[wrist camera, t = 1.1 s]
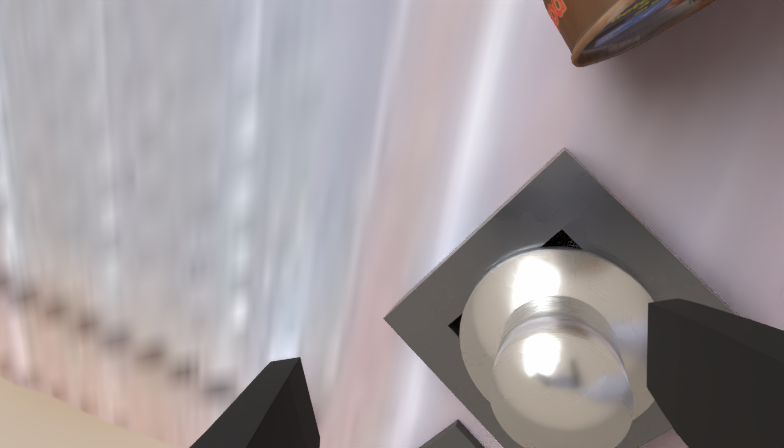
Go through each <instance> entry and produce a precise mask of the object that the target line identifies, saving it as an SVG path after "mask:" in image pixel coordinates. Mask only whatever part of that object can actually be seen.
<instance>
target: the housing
mask: <svg viewBox="0 0 784 448" xmlns="http://www.w3.org/2000/svg"><path fill="white" fill-rule="evenodd" d="M561 229H562V230H563V231H564V232H565V233H566V234H567V235H568V236H569V237H570V238H572V239H573V240H574V241H575V242H576V243H577V244H578V245H579V246H580V247H581V248H582V249H583V250H587V251H591V252H593V253H596V254H599V255H602V256H604V257H606V258H608V259H610V260H612V261H614V262H616V263H617V264H619V265H620V266H622V267H623V268H625V269H626V270H627V271H628V272H630V273H631V274H632V275H633V276H634V277H635V278H637V279H638V281H639V282H640V283H641V284H642V285H643V286H644V287H645V288H646V290H647V291H648V293H649V294H650V296H651V297H652V299H653V300H654V302H657V301H663V300H669V299H676V298H679V299H684V300H688V301H692V302H696V303H699V304H703V305H706V306H709V307H713V308H716V309H719V310H722V311H725V312H728V313H731V314H734V315H737V314H736V313H735V312H734V311H733V310H732V309H731V308H729V307H728V306H727V305H726V304H725V303H724V302H723V301H722V300H721V299H720V298H719V297H718V296H717V295H716V294H715V293H714V292H713V291H712V290H711V289H710V288H709V287H708V286H707V285H706V284H705V283H704V282H703V281H702V280H701V279H700V278H698V277H697V276H696V275H695V274H694V273H693V272H692V271H691V270H690V269H689V268H688V267H687V266H686V265H685V264H684V263H683V262H682V261H681V260H680V259H679V258H678V257H677V256H676V255H675V254H674V253H673V252H672V251H671V250H670V249H669V248H668V247H666V246H665V245H664V244H663V243H662V242H661V241H660V240H659V239H658V238H657V237H656V236H655V235H654V234H653V233H652V232H651V231H650V230H649V229H648V228H647V227H646V226H645V225H644V224H643V223H642V222H641V221H640V220H639V219H638V218H637V217H635V216H634V215H633V214H632V213H631V212H630V211H629V210H628V209H627V208H626V207H625V206H624V205H623V204H622V203H621V202H620V201H619V200H618V199H617V198H616V197H615V196H614V195H613V194H612V193H611V192H610V191H609V190H608V189H607V188H606V187H604V186H603V185H602V184H601V183H600V182H599V181H598V180H597V179H596V178H595V177H594V176H593V175H592V174H591V173H590V172H589V171H588V170H587V169H586V168H585V167H584V166H583V165H582V164H581V163H580V162H579V161H578V160H577V159H576V158H575V157H573V156H572V155H571V154H570V153H569V152H568V151H567V150H566V149H565V148H563V149H562V150H561V151H560V152H559V153H558V154H557V155H556V156H555V157H553V158H552V159H551V160H550V161H549V162H548V163H547V164H546V165H545V166H544V167H543V168H542V169H541V170H539V171H538V172H537V173H536V174H535V175H534V176H533V177H532V178H531V179H530V180H529V181H528V182H527V183H526V184H524V185H523V186H522V187H521V188H520V189H519V190H518V191H517V192H516V193H515V194H514V195H513V196H512V197H510V198H509V199H508V200H507V201H506V202H505V203H504V204H503V205H502V206H501V207H500V208H499V209H498V210H496V211H495V212H494V213H493V214H492V215H491V216H490V217H489V218H488V219H487V220H486V221H485V222H484V223H483V224H481V225H480V226H479V227H478V228H477V229H476V230H475V231H474V232H473V233H472V234H471V235H470V236H469V237H467V238H466V239H465V240H464V241H463V242H462V243H461V244H460V245H459V246H458V247H457V248H456V249H455V250H453V251H452V252H451V253H450V254H449V255H448V256H447V257H446V258H445V259H444V260H443V261H442V262H441V263H440V264H438V265H437V266H436V267H435V268H434V269H433V270H432V271H431V272H430V273H429V274H428V275H427V276H426V277H424V278H423V279H422V280H421V281H420V282H419V283H418V284H417V285H416V286H415V287H414V288H413V289H412V290H410V291H409V292H408V293H407V294H406V295H405V296H404V297H403V298H402V299H401V300H400V301H399V302H398V303H397V304H396V305H395V306H394V307H393V308H392V309H391V311H390V312H389V313H388V314H387V315H386V316H385V317H384V318H383V319H384V320H385V321H386V322H387V323H388V324H389V325H390V326H391V327H392V328H393V329H394V330H395V332H396V333H397V334H398V335H399V336H400V337H401V338H402V339H403V340H404V341H405V342H406V343H407V344H408V345H409V346H410V348H411V349H412V350H413V351H414V352H415V353H416V354H417V355H418V356H419V357H420V358H421V359H422V360H423V361H424V363H425V364H426V365H427V366H428V367H429V368H430V369H431V370H432V371H433V372H434V373H435V374H436V375H437V376H438V378H439V379H440V380H441V381H442V382H443V383H444V384H445V385H446V386H447V387H448V388H449V389H450V390H451V391H452V393H453V394H454V395H455V396H456V397H457V398H458V399H459V400H460V401H461V402H462V403H463V404H464V405H465V406H466V408H467V409H468V410H469V411H470V412H471V413H472V414H473V415H474V416H475V417H476V418H477V419H478V420H479V421H480V423H481V424H482V425H483V426H484V427H485V428H486V429H487V430H488V431H489V432H490V433H491V434H492V435H493V436H494V438H495V439H496V440H497V441H498V442H499V443H500V444H501V445H502V446H503V447H504V448H524V447H522V446H521V445H519V444H518V443H517V442H515V441H514V440H513V439H512V438H511V437H510V436H509V435H508V434H507V433H506V432H505V431H504V429H503V428H502V427H501V425H500V424H499V422H498V421H497V419H496V417H495V415H494V413H493V410H492V407H491V403H490V402H489V401H488V400H487V399H486V398H485V397H484V396H483V395H482V393H481V392H480V391H479V390H478V388H477V387H476V385H475V384H474V382H473V381H472V379H471V377H470V375H469V373H468V371H467V369H466V366H465V363H464V361H463V358H462V353H461V348H460V337H459V335H460V323H461V318H462V314H463V311H464V308H465V306H466V303H467V301H468V299H469V297H470V295H471V293H472V291H473V290H474V288H475V286H476V285H477V283H478V282H479V281H480V279H481V278H482V277H483V276H484V275H485V274H486V273H487V272H488V271H489V270H490V269H491V268H492V267H494V266H495V265H496V264H498V263H499V262H500V261H502V260H504V259H506V258H508V257H509V256H511V255H514V254H516V253H519V252H521V251H525V250H529V249H533V248H539V247H541V246H542V245H544V244H545V243H546V242H547V241H548V240H549V239H551V238H552V237H553V236H554V235H555V234H557V233H558V232H559V231H560V230H561ZM737 316H738V315H737ZM671 428H673V427H672V425H671V424H670V422H669V421H668V420H667V418H666V417H665V415H664V414H663V412H662V411H661V409H660V408H659V406H658V404H657V403H656V401H655V400H654V402H653V403H652V404H651V405H650V406H649V407H648V408H647V409H646V410H645V411H644V412H643V413H642V414H641V415H640V416H638V417H637V418H635V419H634V420H633V421H632V424H631V427H630V429H629V431H628V433H627V435H626V436H625V437H624V439H623V440H622V441H621V442H620V443H619V444H618V445H617V446H616V447H615V448H638V447H640V446H641V445H643V444H645V443H647V442H648V441H650V440H652V439H654V438H655V437H657V436H659V435H661V434H662V433H664V432H666V431H668V430H669V429H671Z"/></svg>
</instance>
